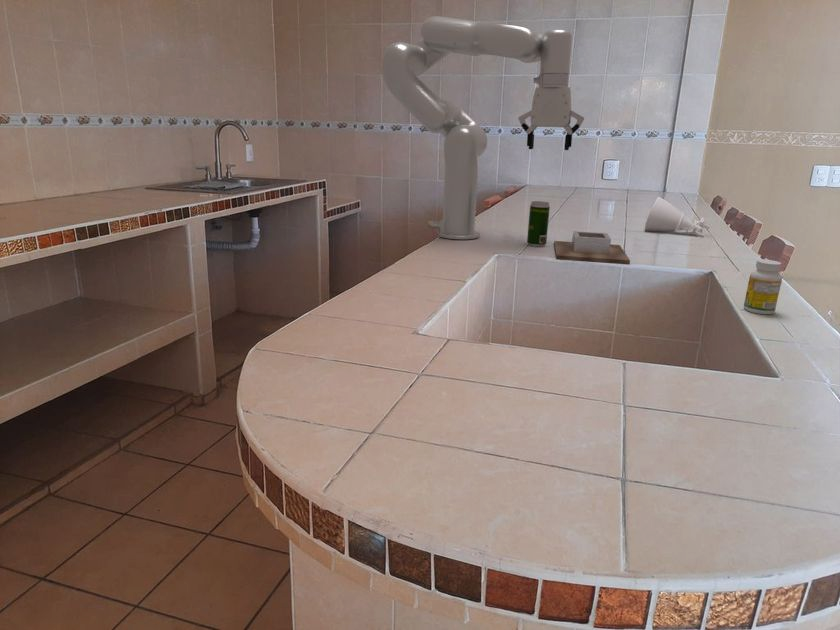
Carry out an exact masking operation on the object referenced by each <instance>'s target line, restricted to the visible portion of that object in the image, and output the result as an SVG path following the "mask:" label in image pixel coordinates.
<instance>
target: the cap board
mask: <svg viewBox="0 0 840 630" xmlns="http://www.w3.org/2000/svg"><path fill="white" fill-rule="evenodd" d="M611 243H612V238H611V237H610V236H609V234H608V233H607V232H594V231H578V230H577V231H575V230H573V231H572V239H571V241H564V240H563V241H562V240H561V241H560V240H554V243H553V247H554V252H555V259H556V260H563V261H579V262H592V263H608V264H622V265H630V264H631V260H630V258H629V257H628V255H627V254H626V252H625V250H624V249H623V248H622V246H621V244H611Z"/></svg>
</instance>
